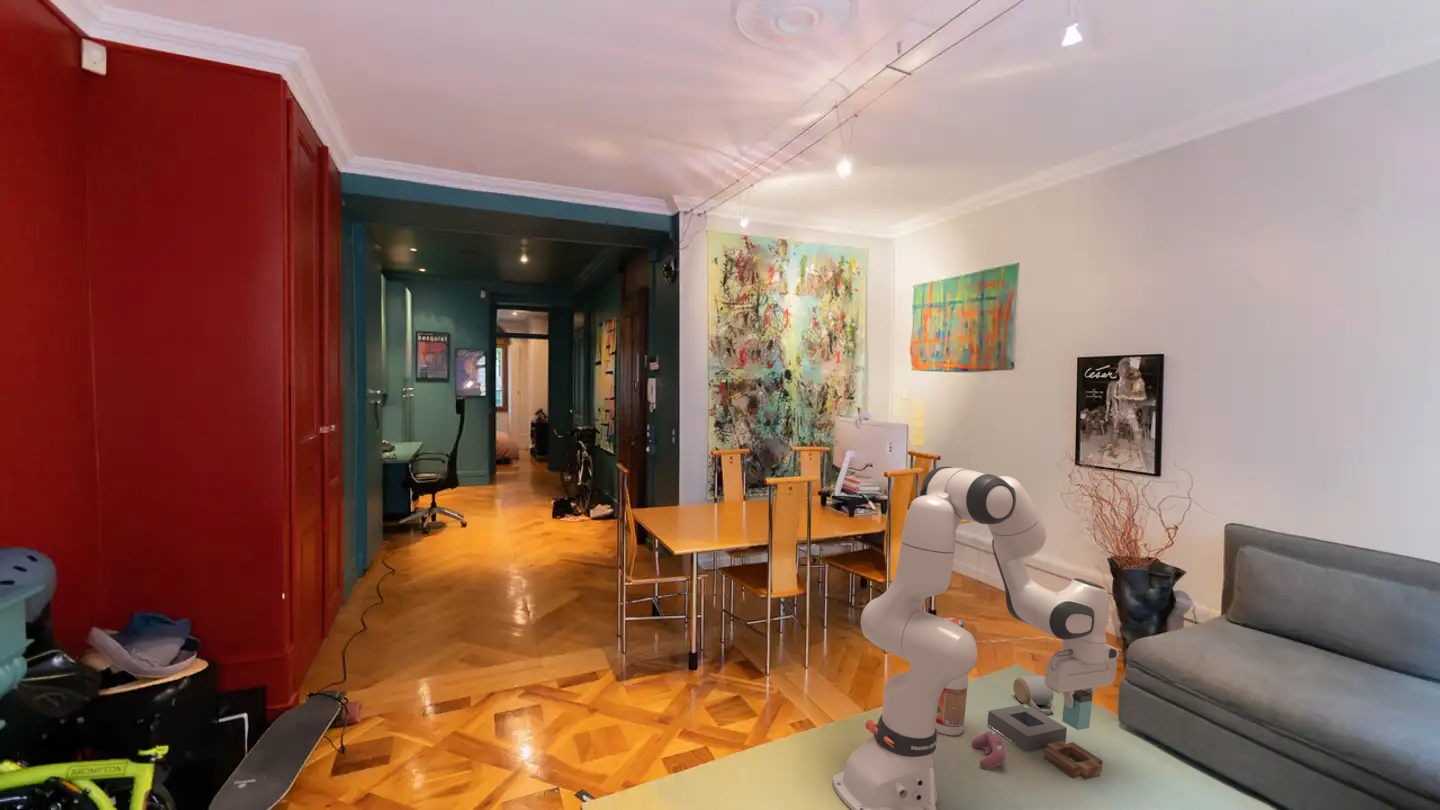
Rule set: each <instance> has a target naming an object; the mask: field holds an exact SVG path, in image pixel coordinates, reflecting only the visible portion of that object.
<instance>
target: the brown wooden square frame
mask: <svg viewBox="0 0 1440 810" xmlns="http://www.w3.org/2000/svg"><path fill="white" fill-rule="evenodd" d="M1043 749H1044V751H1043V760H1045V761H1046V762H1048V763H1049V764H1051V765H1053V767H1055V768H1057V769H1058V770H1060V771H1061V772H1062V773H1064V774H1066V775H1067V776H1068V777H1070V778H1072V779H1076V778H1081V779H1083V780H1085V781H1087V780H1090V779H1093V778H1096V777H1100V776H1101V772H1102V769H1103V759H1101V758H1100V757H1098V756H1097V755H1094V753H1091V752H1089V751H1088V750H1087V749H1085V748H1083V747H1081V746H1080V745H1078V744H1077V743H1075V742H1073V741H1072V742H1067V743H1064V742H1063V741H1059V742H1054V743H1050V744H1047V748H1043ZM1070 758H1071V759H1070ZM1074 760H1075V761H1076V762H1075V761H1074Z"/></svg>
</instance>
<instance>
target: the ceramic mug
mask: <svg viewBox="0 0 1440 810" xmlns="http://www.w3.org/2000/svg"><path fill="white" fill-rule="evenodd" d="M1012 687H1013V693H1014V695H1015V697H1016V699H1017V700H1018V701H1019V702H1020V703H1021V704H1028V705H1029V706H1031V707H1033V708H1034V709H1036V710H1038V711H1039V712H1041V713H1043V714H1044V715H1046V716H1048V715H1051V714H1052V712H1053V710H1054V704H1053V701H1054V691H1053V690H1051V689H1049V688H1048V687H1047V686H1046V684H1045V676H1044V675H1042V674H1037V675H1027V676H1026V675H1025V676H1020V677H1017V678H1015V680H1014V681H1013V686H1012ZM1038 705H1039V706H1040V705H1043V706H1049V708H1050V710H1047V709H1046V710H1045V709H1042V708H1040V707H1039V706H1038Z"/></svg>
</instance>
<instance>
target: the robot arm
mask: <svg viewBox="0 0 1440 810" xmlns="http://www.w3.org/2000/svg"><path fill="white" fill-rule="evenodd" d="M904 520H905V521H904V524H903V529H902V534H901V539H900V549H899V553H898V561H897V565H896V570H895V574H894V577H893V579H892V581H891V583H890V585H889V587H888V588H887V589H886V591H885V592H884V593H882V594H881V595H879V596H878V597H875V598H873V599H872V600H870V601H869V602H868V603H866V605H865V606H864V608H863V610H862V611H861V615H860V629H861V632H862V634H863V636H864V637H865V638H866V639H867V640H868V641H869V642H871V643H872V644H874V645H875V646H876V647H878V648H879V649H880V650H882V651H885V652H887V653H889V654H892V655H894V656H897V657H899V658H901V659H904V660H905V661H907V662H908V663H909V671H908V672H901V673H897V674H893V676H891V677H890V678H888V680H887V681H886V683H885V685H884V689H883V690H884V691H883V703H882V713H881V715H880V717H879V719H878V721H877V724H876V723H875V722H874V721H873V720H872V719H868V720H867V721H866V722H865V724H864V727H865V728H866V729H867V730H868V731H869V732H870V733H871V734H873V735H872V736H871V737H869V738H868V739H867V740H866V741H865V742H864V743H862V745H860V746H859V747H858V748H857V749H855V750H854V751H853V752H852V753H851V754H849V756H848V758H847V761H846V764H845V766H844V767H845V768H844V770H843V771H840V772H838V773H836V774H833V776H832V786H833V788H834V790H835V792H836V794H837V795H838V797H839V798H840V799H841V800H842V802H843V803H844V804H845V805H846V807H848V808H849V809H850V810H937V807H936V805H937V803H938V799H939V796H938V791H937V787H936V777H935V758H934V757H935V756H934V755H935V754H934V753H935V751H936V749H937V743H938V739H937V737H938V732H937V730H936V727H935V725H936V716H937V709H938V703H939V699H940V696H941V693H942V692H943V690H944V688H945V687H946V686H947V685H948V684H949V683H950V682H952V681H954V680H956V679H959V678H962V677H964V676H966V675H967V674H970V673H971V672H972V670H973V669H974V667H975V665H976V663H977V659H978V646H977V643H976V639H975V638H974V635H973V634H972V633H971V632H970V631H968V630H966V629H965V628H964V627H963V628H962V627H960V626H959V625H957V624H955V623H953V622H952V621H949V620H947V619H944V618H945V617H944V618H943V617H942V616H938V615H935V614H932V613H930V612H927V611H924V610H923V606H924V602H925V599H926V598H929V597H934V596H938V595H941V594H943V593H945V592H946V590H947V589H948V588H949V586H950V585H951V581H952V573H953V567H954V558H955V552H956V551H955V549H956V539H957V534H956V533H957V530H958V526H959V525H960V523H961V522H962V521H963V520H964V521H969V522H973V523H974V522H975V523H979V524H981V525H987V527H988V529H989V532H990V534H991V537H992V541H991V546H992V552H993V555H994V559H995V562H996V564H997V567H998V571H999V573H1000V577H1001V580H1002V582H1003V586H1004V590H1005V591H1004V592H1005V602H1006V608H1007V610H1008V612H1009V613H1010V615H1011V616H1012V617H1013V618H1014V619H1016V620H1017V621H1020V622H1023V623H1025V624H1029V625H1031V626H1032V627H1034V628H1036V629H1038V630H1040V631H1041V632H1045V633H1046V634H1048V635H1050V636H1053V637H1055V638H1057V639H1061V640H1062V641H1061V648H1060V649H1061V650H1057V651H1055V653H1054V654H1053V655H1052V656H1051V657H1050V658H1049V660H1048V663H1047V666H1046V672H1045V676H1044V677H1045V684H1046V686H1047V687H1048V688H1049V689H1051V690H1053V692H1054V693H1057V694H1063V697H1064V698H1065V702H1064V701H1063V705H1064V704H1065V706H1067V707H1069V708H1073V707H1075V704H1076V700H1074V699H1073V696H1072V694H1074V691H1076V690H1084V691H1086V692H1088V693H1090V694H1092V695H1093V696H1092V698H1093V697H1094V695H1095V694H1096V692H1097V688H1100V687H1107V686H1111V685H1113V683H1114V682H1115V679H1116V677H1117V676H1116V675H1117V667H1118V666H1117V665H1118V662H1117V658H1119V655H1120V651H1119V649H1118V648H1116V647H1114V646H1112V645H1109V644H1108V643H1107V635H1106V630H1107V626H1108V624H1109V618H1110V599H1109V593H1108V590H1107V589H1106V588H1105V586H1102V585H1100V584H1097V583H1095V582H1093V581H1089V580H1086V579H1083V578H1078V577H1077V578H1072V579H1071V581H1070V583H1069V585H1068V586H1067V587H1065V588H1064V589H1062V590H1059V591H1056V592H1055V591H1053V590H1051V589H1048V588H1046V587H1044V586H1041V585H1040V584H1038V583H1037V582H1035V581H1034V580H1033V579H1032V578H1031V577H1030V575H1029V572H1028V569H1027V565H1026V563H1025V560H1026V559H1028V558H1031V557H1033V556H1034V555H1035V554H1037V553H1039V552H1040V551H1041V550H1042V548H1043V547H1044V545H1045V543H1046V540H1047V532H1046V528H1045V524H1044V523H1043V520H1042V518H1041V516H1040V514H1039V511H1038V509H1037V508H1036V506H1035V504H1034V502H1033V500H1032V498H1031V497H1030V495H1029V494H1028V492H1027V490H1025V487H1023V485H1022V484H1021V483H1020V481H1018V480H1017V479H1015V478H1013V476H1007V475H999V476H997V475H994V474H991V473H984V472H979V471H976V470H974V469H971V468H964V467H952V466H941V467H940V466H939V467H935V468H933V469H932V470H930V471H929V472H928V473H927V475H926V476H925V478H924V480H923V482H922V486H921V489H920V492H919V496H918V497H915V498H914V499H913V500H912V501H911V503H910V505H909V508H908V511H907V514H906V517H905V519H904Z"/></svg>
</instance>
